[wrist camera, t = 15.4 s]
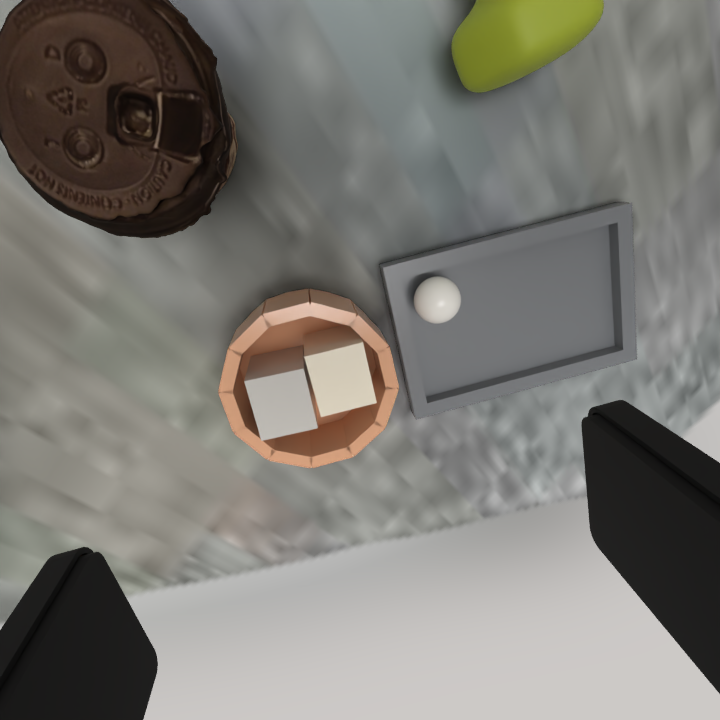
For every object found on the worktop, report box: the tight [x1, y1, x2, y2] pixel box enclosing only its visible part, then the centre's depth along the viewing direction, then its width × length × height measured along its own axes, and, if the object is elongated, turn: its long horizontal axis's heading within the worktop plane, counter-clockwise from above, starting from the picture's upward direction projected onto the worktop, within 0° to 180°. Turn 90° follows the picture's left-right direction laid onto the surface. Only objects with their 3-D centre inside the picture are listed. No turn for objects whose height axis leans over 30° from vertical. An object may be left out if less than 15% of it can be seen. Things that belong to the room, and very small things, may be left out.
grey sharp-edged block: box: [244, 345, 318, 441], centre depth 31 cm, size 4×4×4 cm
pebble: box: [414, 276, 461, 324], centre depth 31 cm, size 3×3×3 cm
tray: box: [379, 202, 637, 419], centre depth 33 cm, size 16×11×2 cm, turn 103°
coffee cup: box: [0, 0, 238, 238], centre depth 22 cm, size 9×8×13 cm
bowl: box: [218, 288, 399, 468], centre depth 31 cm, size 10×10×4 cm
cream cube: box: [303, 325, 377, 417], centre depth 31 cm, size 4×4×4 cm
